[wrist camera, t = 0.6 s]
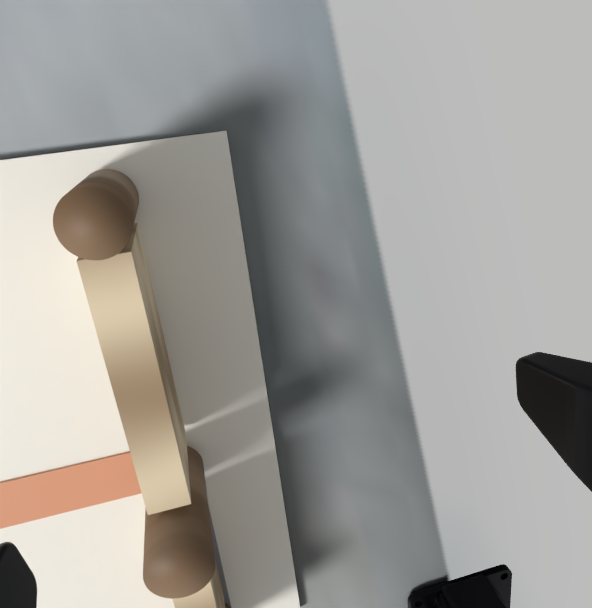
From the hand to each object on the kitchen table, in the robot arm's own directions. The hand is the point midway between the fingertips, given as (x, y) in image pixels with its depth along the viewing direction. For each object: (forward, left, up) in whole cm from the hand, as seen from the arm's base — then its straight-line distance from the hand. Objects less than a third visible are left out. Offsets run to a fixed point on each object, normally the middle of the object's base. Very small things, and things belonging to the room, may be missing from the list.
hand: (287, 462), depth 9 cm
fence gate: (-3, +3, -12) cm, 13 cm away
